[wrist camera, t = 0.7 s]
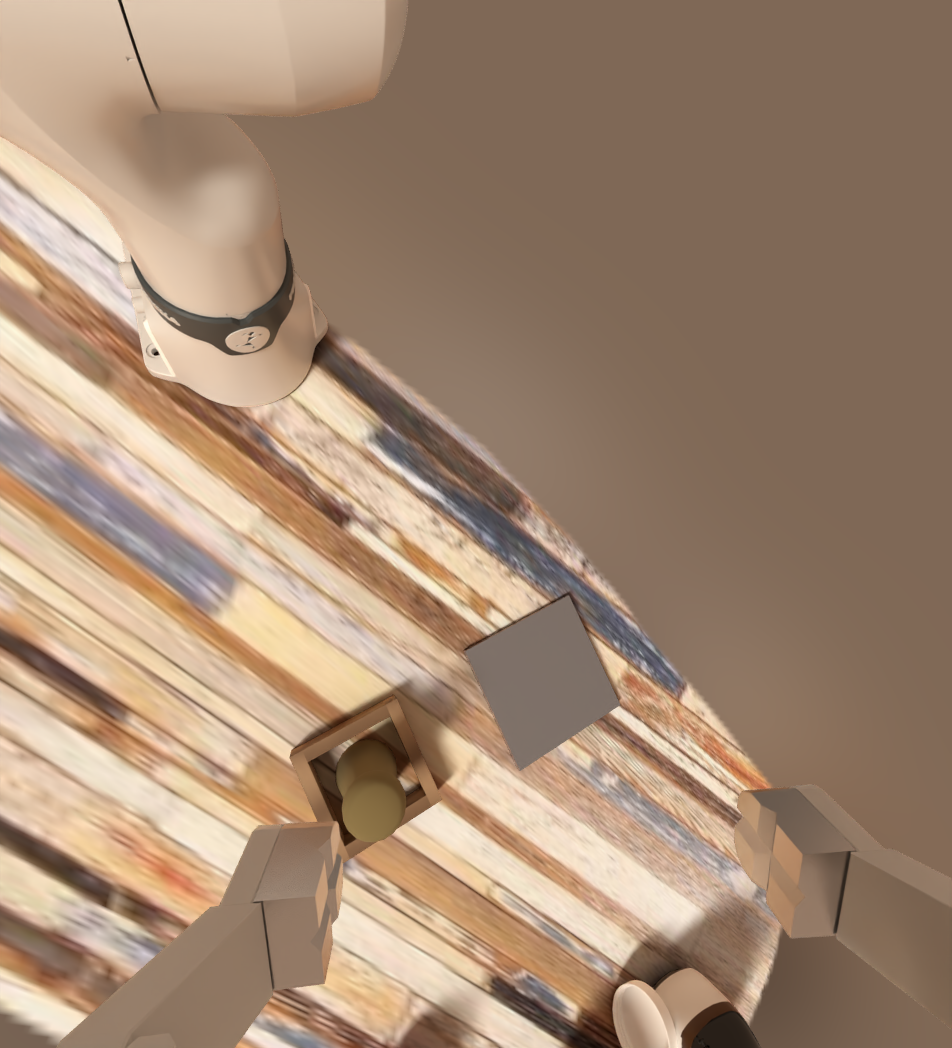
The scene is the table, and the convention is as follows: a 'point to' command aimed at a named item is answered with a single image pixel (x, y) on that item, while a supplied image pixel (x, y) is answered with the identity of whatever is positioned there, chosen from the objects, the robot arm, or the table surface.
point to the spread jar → (678, 1014)
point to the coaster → (542, 680)
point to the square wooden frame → (344, 732)
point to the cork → (370, 790)
